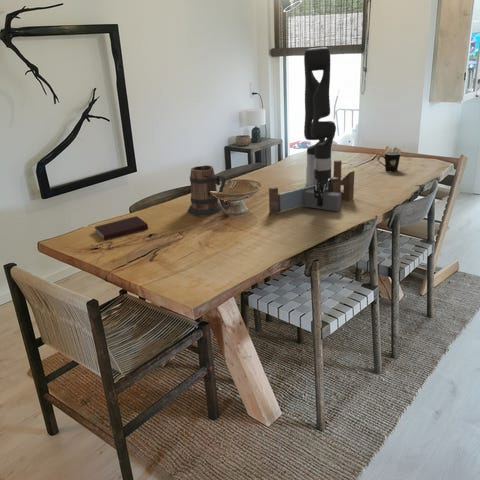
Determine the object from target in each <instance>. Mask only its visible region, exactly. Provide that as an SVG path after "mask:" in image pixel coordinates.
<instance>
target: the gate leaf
mask: <svg viewBox="0 0 480 480" xmlns="http://www.w3.org/2000/svg"><path fill="white" fill-rule="evenodd" d="M314 186H316V185H313V186H309V187H308V186H306V187H302V188H298V189H293V190H290V191H286V192H281V193H278V213H280V212H284V211H288V210H291V209H295V208H298V207H302V206H304V192H305V191H307V190H308V189H311V190H314ZM320 191H321V190H320Z"/></svg>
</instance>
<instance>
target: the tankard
mask: <svg viewBox="0 0 480 480" xmlns="http://www.w3.org/2000/svg"><path fill="white" fill-rule="evenodd" d="M226 179H227V178H226V177H225V175H223V174H219V175H216V174H215V169H214V167H213V166H211V165H208V164H207V165H206V164H205V165H201V166H200V165H199V166H193V167H191V168H190V176H189V181H190V195H191V196H190V202H191V203H190V206H189V208H188V209H187V213H188V214H190V215H192V216H199V217H200V216H202V217H203V216H211V215H216V213H217V214H218V213H221V212H222V211H223V210H228V208H229V207H230V205H231V204H230V202H228V201H226V200H225V199H224V200H221V199H219V197H218V198H216V197H215V196H213V195H212V194H211V193H210V191H217V192H218V193H219V192H223V191H224V188H225V185H226V181H227V180H226ZM217 186H220V187H219V189H217ZM227 202H228V203H227ZM228 204H229V205H228ZM227 206H228V207H227ZM230 208H231V207H230ZM230 208H229V209H230Z"/></svg>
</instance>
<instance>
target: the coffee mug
mask: <svg viewBox="0 0 480 480" xmlns="http://www.w3.org/2000/svg"><path fill="white" fill-rule="evenodd" d="M401 155H402V153H401V152H399V151H386V152H384V155H379V156H378V157H377V161H378V162H379V164H381V165H383V166H384V169H385V172H387V171H391V172H390V173H394V172H393V171H396V172H398V169H399V163H400V158H401ZM381 157H382V158H383V159H384V163H382V162H381V161H380V158H381Z"/></svg>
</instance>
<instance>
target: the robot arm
mask: <svg viewBox="0 0 480 480" xmlns="http://www.w3.org/2000/svg"><path fill="white" fill-rule="evenodd" d="M303 55H304V56H303V64H304V112H305V113H304V127H303V133H304V138H305V140H306V141H307V140H308V141H318V142H316V143H315V144H313V145H310V146H308V147H307V148H306V169H305V170H306V173H305V174H306V175H305V177H306V181H305V182H306V183H305V184H306V187H309V186H313V185H316V186H314V195H315V198H317V205H318V206H322V204H323V193H324V191H326V192H330V186H331V179H330V178H332V146H333V141H334V139H335V138H334V137H335V135H336V130H337V127H336V124H335V122H334V121H332V120H325V121H321V119H324V118H326V117H329V116H330V114H331V102H330V85H331V52H330V49H329V48H328V47H323V46H322V47H314V48H313V47H311V48H307V49H306V50H305V51H304V54H303ZM314 71H315V72H317V71H322V77H321V79H320V80H317V78H316V76H315V75H314ZM319 81H320V82H319ZM320 190H321V191H320Z"/></svg>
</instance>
